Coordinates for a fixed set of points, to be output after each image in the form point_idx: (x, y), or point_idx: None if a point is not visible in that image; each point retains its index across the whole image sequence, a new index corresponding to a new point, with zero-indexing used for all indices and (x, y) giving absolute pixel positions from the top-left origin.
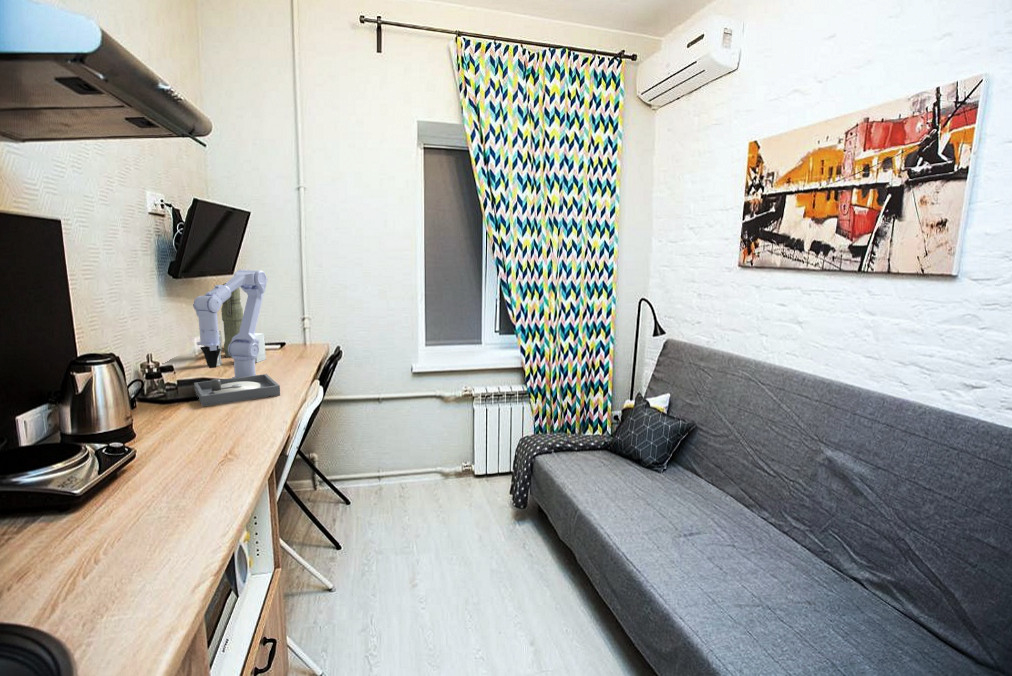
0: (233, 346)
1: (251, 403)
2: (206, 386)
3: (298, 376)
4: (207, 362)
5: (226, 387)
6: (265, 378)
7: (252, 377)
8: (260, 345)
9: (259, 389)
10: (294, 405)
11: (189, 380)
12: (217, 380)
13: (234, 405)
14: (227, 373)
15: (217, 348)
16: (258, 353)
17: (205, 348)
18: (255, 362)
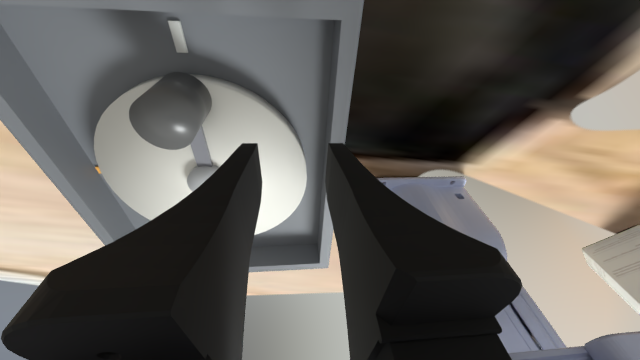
0: (503, 340)
1: (39, 178)
2: (333, 65)
3: (342, 290)
4: (239, 166)
5: (198, 144)
6: (303, 255)
7: (321, 235)
8: (634, 306)
9: (100, 234)
10: (6, 259)
11: (631, 12)
12: (146, 132)
13: (2, 124)
14: (555, 173)
15: (350, 348)
16: (607, 277)
17: (376, 307)
18: (587, 246)
